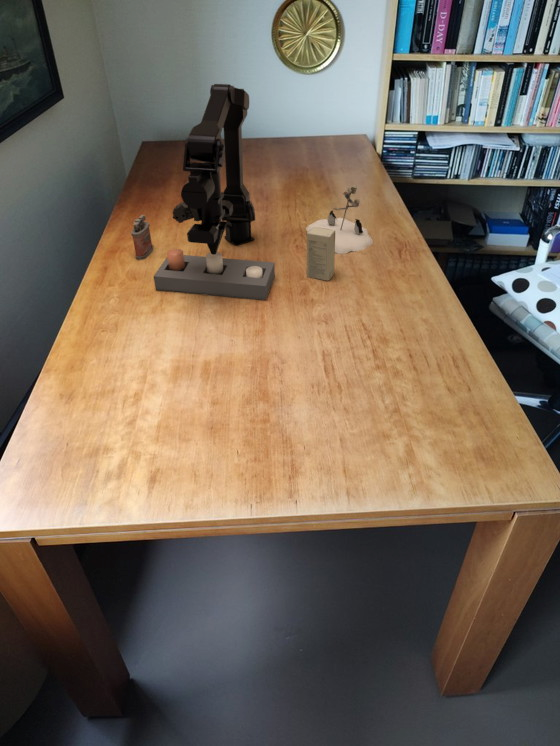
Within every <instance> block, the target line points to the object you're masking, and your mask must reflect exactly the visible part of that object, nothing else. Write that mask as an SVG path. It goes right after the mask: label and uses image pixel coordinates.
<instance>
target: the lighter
mask: <svg viewBox="0 0 560 746" xmlns="http://www.w3.org/2000/svg"><path fill="white" fill-rule="evenodd" d="M146 220H147V219H146V215H145V214H141V215H139V217H138V218H135V219H134V222H133V224H132V226H133V229H132V230H131V232H130V234H131V237H132V241H133V246H134V250H135V251H134V253H135V259H136V260H138V261H142V260H144V259H147V257H149V255H150V254H151V253H152V252H153V251H154V245H153V242H152V237H151V230H150V222H148V221H146Z"/></svg>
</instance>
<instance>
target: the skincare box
mask: <svg viewBox="0 0 560 746" xmlns="http://www.w3.org/2000/svg"><path fill="white" fill-rule="evenodd" d="M335 254H336V253H335V230H331V229H325V228H319V227H312V228H311V229H310V230H309V231H306V277H307V278H312V279H316V280H323V281H327V282H328V281H330V279H331V278H332V277H333V276H334V274H335V259H336V258H335V257H336V255H335Z"/></svg>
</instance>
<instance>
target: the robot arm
mask: <svg viewBox="0 0 560 746" xmlns="http://www.w3.org/2000/svg"><path fill="white" fill-rule="evenodd" d="M209 94H210V95H209V98H208V102H207V104H206V107H205V108H204V109H205V110H204V113H203V116H202V118H201V121H200V123H199V124H196V125H194V126H193V127H192V128H191V130H190V132H189V133H188V136H187V137H186V138H185V141H184V142H185V144H184V154H183V164H182V171H184V172H189V175H188V176H187V179H188V180H187V181H186V182H185V184H184V185H183V186H182V188H181V192H180V196H181V200H182V202H180V203H178V204H177V205H176V206H174V207H173V209H172V219H174V220H175V221H176V222H177V223H179V224H181V223H183V222H185V221H189V220H191V219H193V221H194V222H200V221H201V223H193V225H192V226H191V227H190V228H189V230H188V231H187V233H186V237H187V242H188V243H194V244H195V243H196V244H206V245H207V247H208V249H209V253H211V254H214V255H215V254H216V253H217V252H218V250H219V248H220V247H219V246H220V245H221V241H222V239H223V235H224V232H225V236H224V239H225V240H226V241H228V242H229V243H231V244H233V245H234V246H239V245H243V244H246V243H249V242H253V241H255V238H254V237H253V236H252V227H251V226H252V225H251V224H252V222H254V221H256V213H255V211H256V210H255V207H254V204H253V201H252V200H251V195H250V192H249V190H248V189H247V187H246V186H245V184H244V172H243V171H244V169H243V167H244V166H243V165H244V164H243V137H242V136H243V135H242V133H243V132H242V126H243V124H244V122H245V120H246V118H247V116H248V110H249V108H250V95H249V94H248V92H247V91H245V88H238V87H235V86H234V85H231V84H227V83H214V84H211V86H210V92H209ZM222 131H223V139H222ZM224 161H225V162H224ZM223 165H225V166H224V167H225V181H226V182H225V183H226V186H225V188H224V190H223V191H222V185H221V175H220V173H221V172H220V170H221V168H223Z"/></svg>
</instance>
